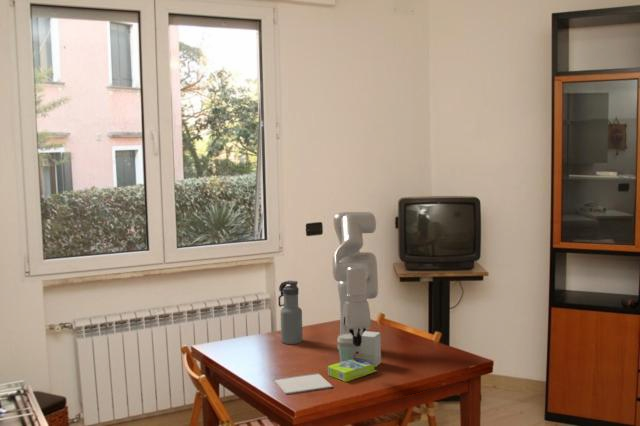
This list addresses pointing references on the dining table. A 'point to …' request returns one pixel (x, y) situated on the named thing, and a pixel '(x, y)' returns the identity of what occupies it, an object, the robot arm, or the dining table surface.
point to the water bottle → (290, 313)
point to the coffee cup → (346, 347)
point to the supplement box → (370, 347)
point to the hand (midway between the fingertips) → (357, 345)
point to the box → (351, 369)
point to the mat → (302, 383)
